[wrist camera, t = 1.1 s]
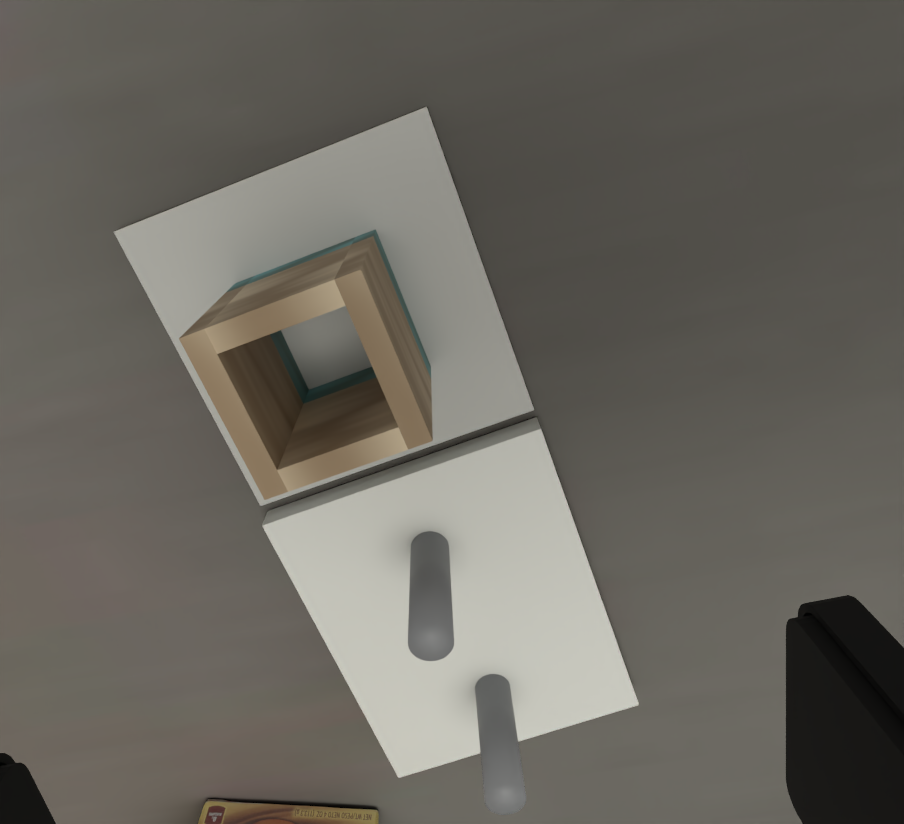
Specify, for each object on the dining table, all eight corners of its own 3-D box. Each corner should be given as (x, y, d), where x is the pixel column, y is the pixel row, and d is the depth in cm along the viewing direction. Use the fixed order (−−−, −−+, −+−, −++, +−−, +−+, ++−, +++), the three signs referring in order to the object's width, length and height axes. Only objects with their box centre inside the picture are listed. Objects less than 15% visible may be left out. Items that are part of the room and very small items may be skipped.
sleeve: (375, 229, 28) (360, 269, 21) (430, 366, 30) (432, 440, 23) (235, 283, 28) (178, 338, 22) (298, 414, 30) (264, 500, 24)
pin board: (536, 416, 31) (567, 503, 24) (632, 686, 37) (678, 817, 30) (267, 511, 32) (227, 617, 26) (399, 757, 38) (394, 898, 31)
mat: (426, 106, 27) (426, 106, 26) (533, 406, 31) (534, 409, 31) (117, 230, 28) (113, 231, 27) (262, 501, 32) (260, 505, 32)
